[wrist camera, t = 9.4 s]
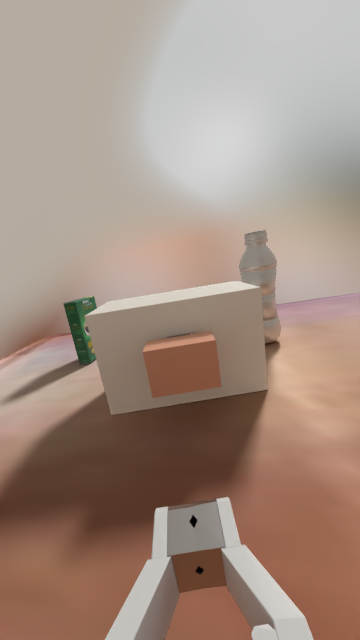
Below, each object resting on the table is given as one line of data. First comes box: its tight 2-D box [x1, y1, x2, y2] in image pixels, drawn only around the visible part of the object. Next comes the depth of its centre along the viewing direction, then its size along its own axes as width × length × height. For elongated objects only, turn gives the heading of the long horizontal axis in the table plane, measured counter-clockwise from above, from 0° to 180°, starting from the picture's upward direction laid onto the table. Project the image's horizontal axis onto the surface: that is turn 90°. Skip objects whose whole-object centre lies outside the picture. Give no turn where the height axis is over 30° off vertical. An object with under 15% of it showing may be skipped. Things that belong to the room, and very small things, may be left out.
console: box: [85, 281, 268, 415], centre depth 32 cm, size 10×20×13 cm, turn 92°
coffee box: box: [64, 296, 97, 364], centre depth 49 cm, size 8×3×13 cm, turn 173°
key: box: [143, 331, 222, 398], centre depth 27 cm, size 10×7×5 cm
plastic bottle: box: [239, 230, 281, 343], centre depth 42 cm, size 6×7×20 cm
